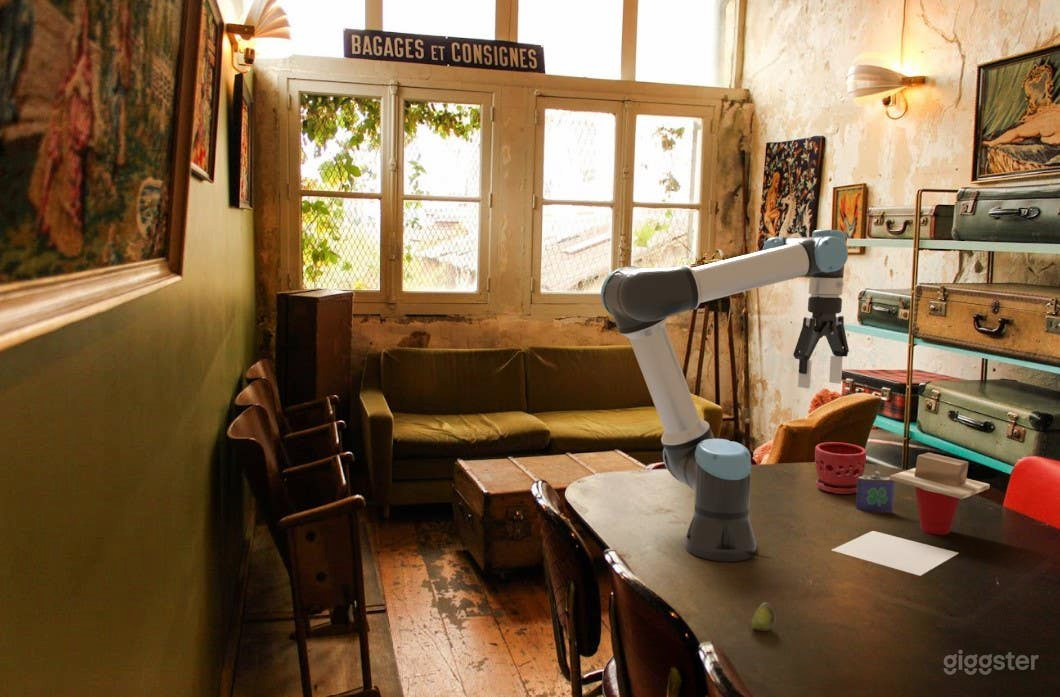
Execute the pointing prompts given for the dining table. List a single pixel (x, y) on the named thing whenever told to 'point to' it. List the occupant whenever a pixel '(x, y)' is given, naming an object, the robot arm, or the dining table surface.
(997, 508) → the dining table surface
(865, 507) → the flask
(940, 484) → the lid
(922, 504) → the plastic cup
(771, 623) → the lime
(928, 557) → the mat
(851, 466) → the plant pot
